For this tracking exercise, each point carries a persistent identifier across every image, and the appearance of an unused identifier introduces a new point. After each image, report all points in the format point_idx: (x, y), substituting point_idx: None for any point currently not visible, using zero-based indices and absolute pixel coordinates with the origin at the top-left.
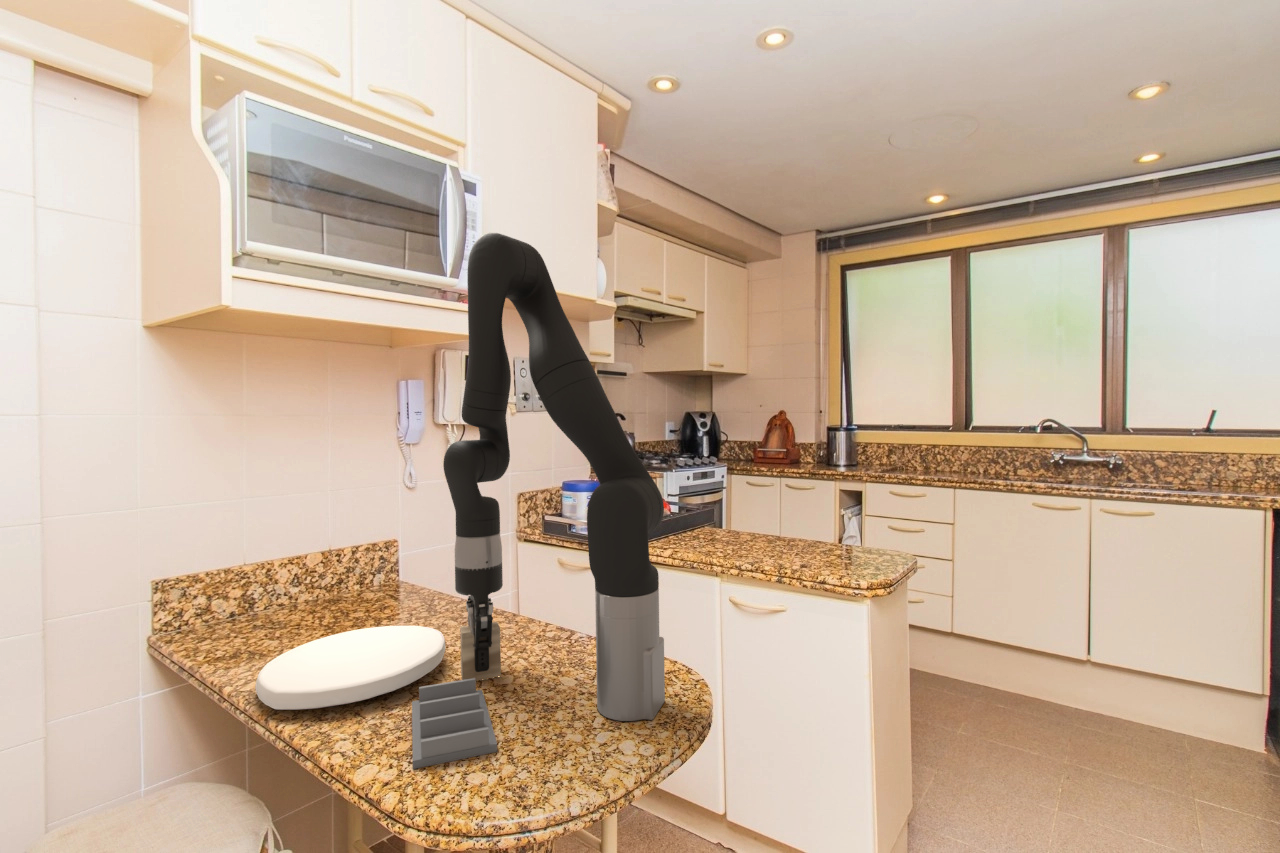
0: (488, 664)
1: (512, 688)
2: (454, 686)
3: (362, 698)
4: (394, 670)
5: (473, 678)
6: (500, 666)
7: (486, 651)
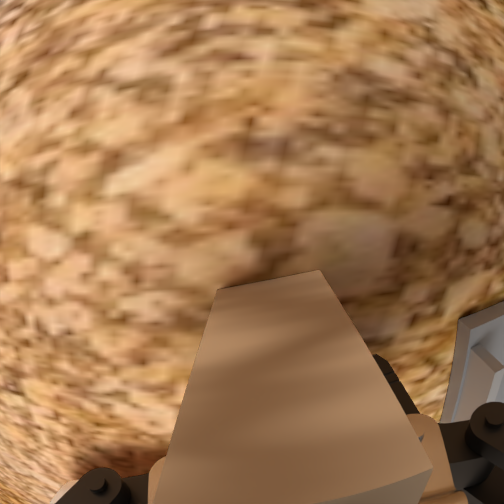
0: None
1: (441, 213)
2: None
3: None
4: None
5: (496, 376)
6: (330, 289)
7: (417, 411)
